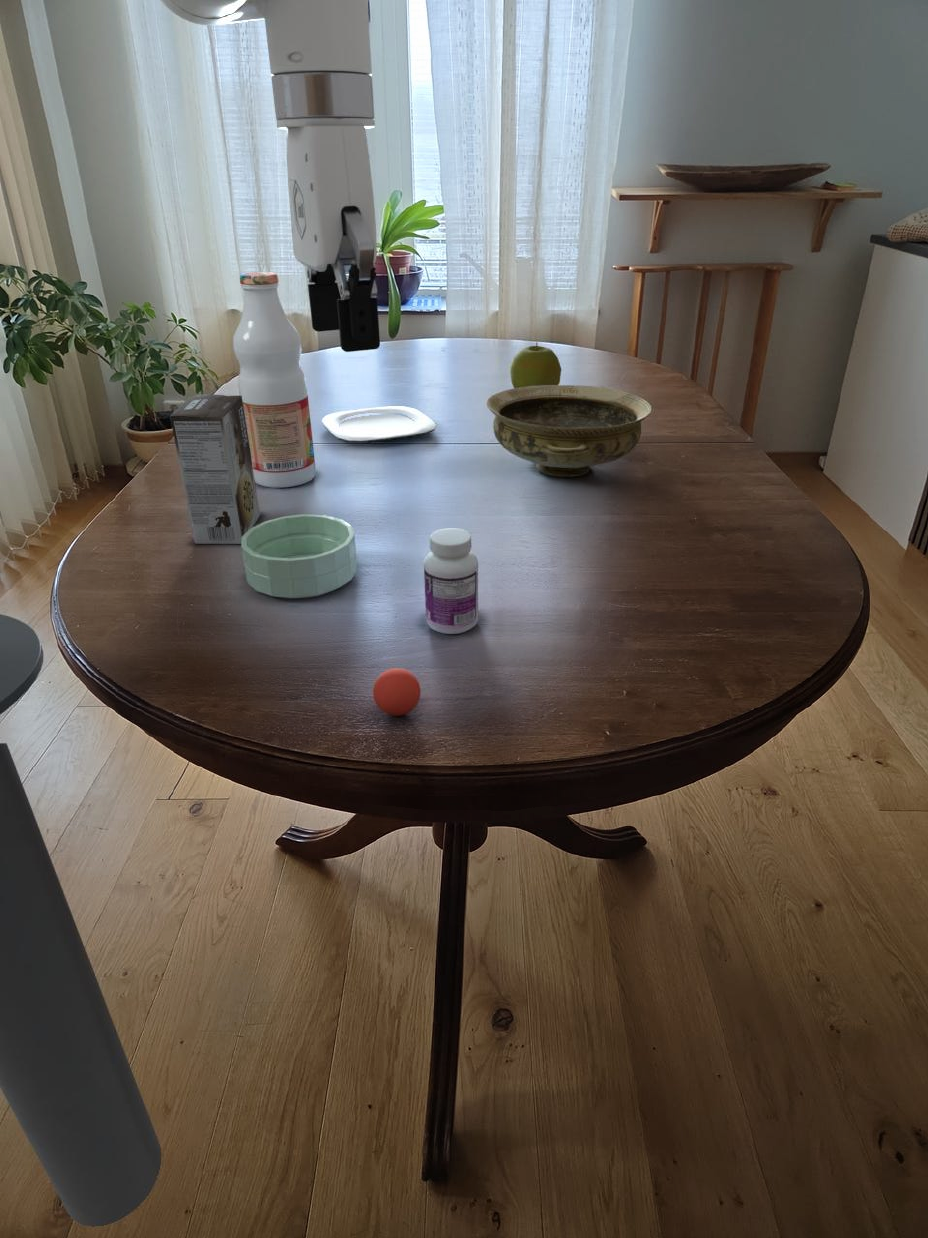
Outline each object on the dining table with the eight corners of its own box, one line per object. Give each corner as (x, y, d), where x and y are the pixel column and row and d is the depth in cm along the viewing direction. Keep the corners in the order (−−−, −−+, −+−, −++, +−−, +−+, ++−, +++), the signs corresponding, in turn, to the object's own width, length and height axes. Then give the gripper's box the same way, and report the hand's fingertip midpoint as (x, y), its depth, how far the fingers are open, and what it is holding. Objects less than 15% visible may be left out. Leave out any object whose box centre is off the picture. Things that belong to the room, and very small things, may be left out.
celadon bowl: (308, 613, 82) (302, 570, 79) (224, 585, 88) (217, 544, 85) (378, 568, 91) (375, 528, 88) (298, 545, 96) (294, 507, 94)
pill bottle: (430, 608, 83) (427, 523, 78) (480, 610, 82) (480, 525, 77) (422, 634, 78) (418, 546, 73) (475, 637, 78) (475, 548, 73)
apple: (501, 396, 157) (502, 338, 151) (544, 391, 160) (546, 334, 154) (523, 408, 149) (525, 348, 143) (568, 403, 152) (572, 344, 146)
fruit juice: (239, 478, 117) (207, 274, 103) (290, 462, 123) (266, 267, 109) (277, 494, 111) (249, 280, 97) (329, 476, 117) (309, 273, 103)
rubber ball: (403, 731, 65) (401, 691, 63) (365, 715, 67) (361, 677, 65) (430, 706, 68) (429, 667, 66) (392, 692, 70) (390, 654, 68)
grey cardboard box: (213, 515, 105) (191, 393, 96) (261, 515, 105) (243, 393, 96) (192, 544, 97) (166, 414, 89) (244, 544, 97) (223, 414, 89)
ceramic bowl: (649, 509, 106) (658, 436, 101) (473, 500, 109) (473, 429, 104) (639, 441, 131) (646, 380, 126) (497, 435, 134) (498, 375, 129)
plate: (315, 423, 141) (314, 413, 140) (410, 411, 147) (409, 402, 146) (342, 452, 127) (341, 442, 126) (446, 438, 133) (446, 428, 132)
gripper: (254, 111, 66) (281, 326, 74) (301, 97, 52) (328, 363, 61) (341, 111, 68) (358, 320, 77) (408, 99, 54) (419, 354, 63)
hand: (344, 339), depth 69 cm, fingers open, 9 cm apart
